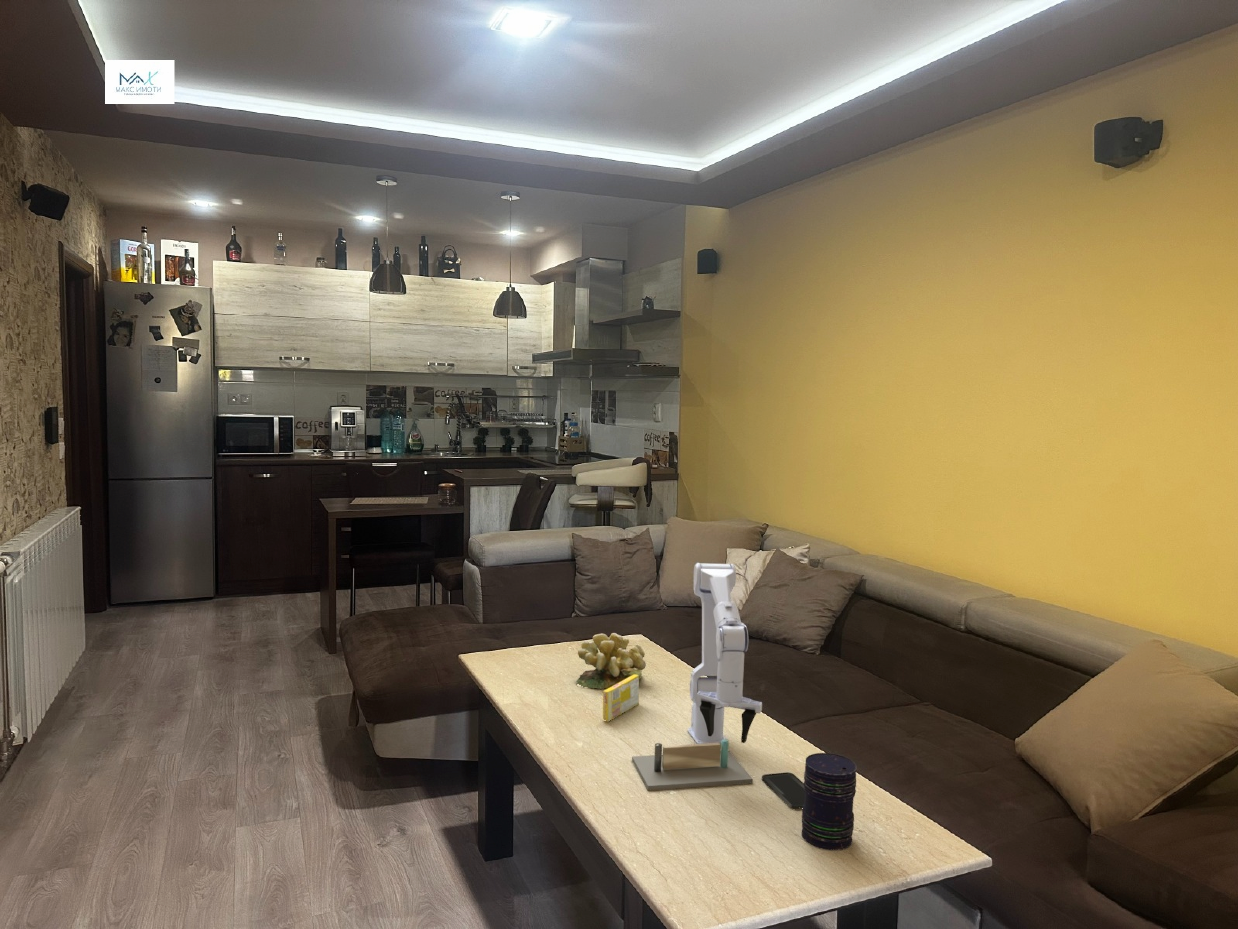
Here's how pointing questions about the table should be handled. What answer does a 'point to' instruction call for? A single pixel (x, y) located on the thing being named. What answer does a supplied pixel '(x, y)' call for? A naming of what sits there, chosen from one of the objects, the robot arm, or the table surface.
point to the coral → (610, 661)
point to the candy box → (620, 697)
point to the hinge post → (658, 757)
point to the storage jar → (828, 801)
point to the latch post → (724, 753)
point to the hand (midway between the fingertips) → (727, 738)
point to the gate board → (690, 774)
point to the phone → (786, 788)
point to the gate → (691, 756)
